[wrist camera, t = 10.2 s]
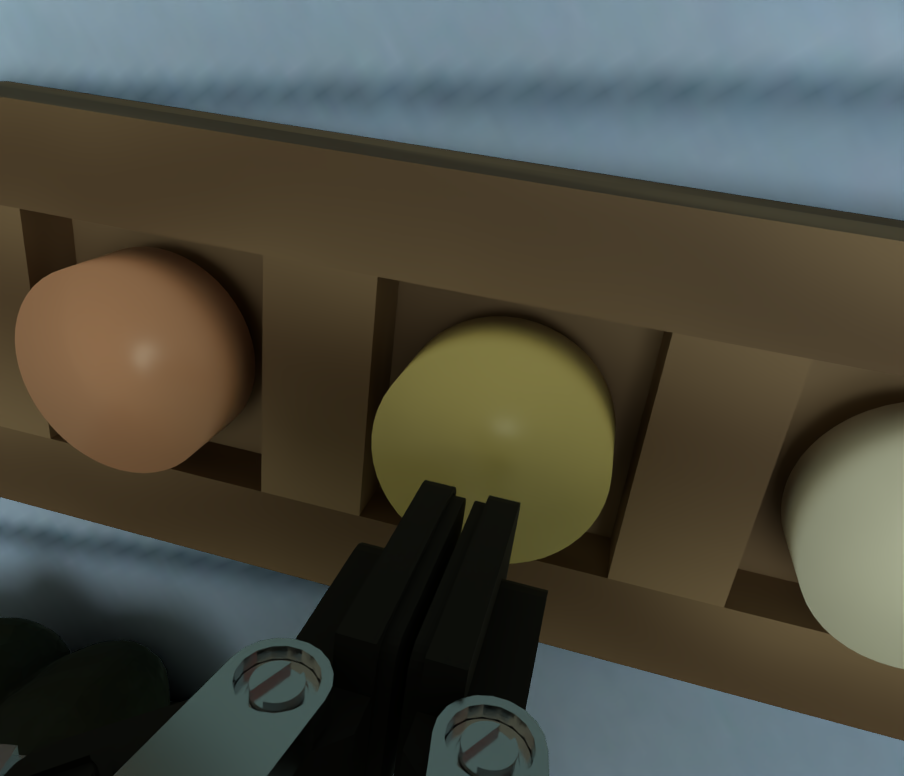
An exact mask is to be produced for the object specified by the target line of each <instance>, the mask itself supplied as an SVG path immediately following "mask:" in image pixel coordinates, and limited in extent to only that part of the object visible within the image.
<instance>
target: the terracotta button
mask: <svg viewBox="0 0 904 776" xmlns="http://www.w3.org/2000/svg"><path fill="white" fill-rule="evenodd" d="M15 349H16V357H17V361H18V366H19V369H20V373H21V376H22V379H23V381H24V384H25V386H26V388H27V390H28V393H29V394H30V396H31V398H32V400H33V402H34V403H35V405H36V407H37V408H38V410H39V411H40V412H41V414H42V415H43V417H44V418H45V419H46V420H47V422H48V423H49V424H50V425H51V426H52V428H53V429H54V430H55V431H56V432H57V433H58V434H59V435H60V436H61V437H62V438H63V439H65V440H66V441H67V442H68V443H69V444H70V445H72V446H73V447H74V448H76V449H77V450H79V451H80V452H81V453H83V454H84V455H86V456H88V457H90V458H91V459H93V460H95V461H97V462H99V463H102V464H104V465H106V466H109V467H112V468H115V469H118V470H122V471H127V472H133V473H154V472H159V471H164V470H167V469H170V468H172V467H175V466H177V465H179V464H180V463H182V462H184V461H185V460H186V459H188V458H189V457H190V456H191V455H192V454H194V453H195V452H196V451H197V450H198V449H200V448H201V447H202V446H203V445H204V444H206V443H207V442H208V441H209V440H210V439H212V438H213V437H214V436H215V435H216V434H217V433H219V432H220V431H221V430H222V429H223V428H225V427H226V426H227V425H228V424H229V423H231V422H232V421H233V420H234V419H235V418H236V417H237V416H238V415H239V414H240V412H241V411H242V410H243V408H244V407H245V405H246V403H247V401H248V399H249V397H250V394H251V391H252V388H253V383H254V379H255V354H254V348H253V343H252V339H251V336H250V333H249V330H248V327H247V325H246V322H245V320H244V318H243V316H242V314H241V312H240V310H239V309H238V307H237V305H236V304H235V302H234V301H233V299H232V298H231V297H230V295H229V294H228V292H227V291H226V290H225V289H224V288H223V287H222V286H221V285H220V283H219V282H218V281H217V280H216V279H214V278H213V277H212V276H211V275H210V274H209V273H208V272H207V271H205V270H204V269H202V268H201V267H200V266H198V265H197V264H195V263H194V262H192V261H190V260H188V259H187V258H185V257H183V256H180V255H178V254H176V253H173V252H171V251H167V250H163V249H159V248H153V247H130V248H125V249H121V250H118V251H115V252H112V253H109V254H106V255H103V256H100V257H97V258H94V259H91V260H88V261H85V262H82V263H79V264H76V265H73V266H70V267H67V268H64V269H61V270H58V271H56V272H53V273H51V274H49V275H48V276H46V277H44V278H42V279H41V280H40V281H39V282H38V283H37V284H35V285H34V286H33V288H32V289H31V290H30V291H29V293H28V294H27V295H26V297H25V299H24V301H23V303H22V304H21V307H20V310H19V313H18V316H17V321H16V327H15Z"/></svg>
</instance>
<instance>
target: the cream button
mask: <svg viewBox="0 0 904 776" xmlns="http://www.w3.org/2000/svg"><path fill="white" fill-rule="evenodd" d="M781 522H782V526H783V531H784V535H785V538H786V542H787V545H788V548H789V552H790V555H791V558H792V562H793V565H794V568H795V572H796V575H797V578H798V582H799V585H800V588H801V591H802V594H803V597H804V599H805V602H806V604H807V606H808V607H809V609H810V611H811V612H812V614H813V616H814V617H815V618H816V619H817V621H818V622H819V623H820V624H821V626H822V627H823V628H824V629H825V630H826V631H827V632H828V633H830V634H831V635H832V636H833V637H834V638H835V639H837V640H838V641H839V642H841V643H842V644H843V645H845V646H846V647H848V648H850V649H851V650H853V651H855V652H857V653H859V654H860V655H862V656H865V657H867V658H869V659H872V660H874V661H877V662H879V663H883V664H886V665H889V666H892V667H896V668H901V669H904V402H901V403H896V404H890V405H885V406H882V407H878V408H875V409H872V410H868V411H866V412H863V413H861V414H858V415H856V416H853V417H851V418H849V419H847V420H846V421H844V422H842V423H840V424H838V425H836V426H835V427H833V428H832V429H831V430H829V431H828V432H826V433H825V434H823V435H822V436H821V437H820V438H819V439H818V440H816V441H815V442H814V443H813V444H812V445H811V446H810V447H809V448H808V449H807V450H806V451H805V453H804V454H803V455H802V456H801V457H800V459H799V460H798V462H797V463H796V465H795V466H794V468H793V469H792V471H791V473H790V476H789V478H788V480H787V482H786V485H785V489H784V492H783V496H782V504H781Z"/></svg>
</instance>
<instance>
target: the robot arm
mask: <svg viewBox="0 0 904 776" xmlns="http://www.w3.org/2000/svg"><path fill="white" fill-rule="evenodd" d="M520 504H521V503H520V502H516V501H512V500H508V499H503V498H499V497H495V496H491V495H489V497H488V499H487V501H486V503H484V502H480V501H475V502H474V504H473V506H472V508H471V511H470V513H469V515H468V518H467V520H466V523H465V525H464V527H463V530H462V525H463V519H464V512H465V506H466V498H463V497H459V496H456V487H453V486H449V485H445V484H441V483H437V482H432V481H428V480H424V481H423V483H422V484H421V486H420V488H419V489H418V491H417V493H416V495H415V496H414V498H413V500H412V501H411V503H410V505H409V507H408V508H407V510H406V512H405V514H404V515H403V517H402V519H401V520H400V522H399V524H398V526H397V527H396V529H395V531H394V532H393V534H392V536H391V538H390V539H389V541H388V543H387V544H386V546H385V548H383V547H379V546H375V545H371V544H367V543H363V542H361V543H359V544H358V545H357V546H356V547H355V549H354V550H353V552H352V553H351V555H350V556H349V558H348V559H347V561H346V562H345V564H344V565H343V567H342V569H341V570H340V572H339V573H338V575H337V576H336V578H335V579H334V581H333V582H332V584H331V586H330V587H329V589H328V590H327V592H326V593H325V595H324V596H323V598H322V599H321V601H320V602H319V604H318V606H317V607H316V609H315V610H314V612H313V613H312V615H311V616H310V618H309V619H308V621H307V622H306V624H305V626H304V627H303V629H302V630H301V632H300V633H299V635H298V636H297V638H296V639H291V638H273V639H268V640H262V641H259V642H256V643H254V644H252V645H249V646H247V647H245V648H243V649H242V650H241V651H239V652H238V653H237V654H235V655H234V656H233V657H231V658H230V659H229V660H228V661H227V662H226V663H225V664H224V665H223V666H222V667H221V668H220V669H219V670H218V671H217V672H216V673H215V674H214V675H213V676H212V677H211V678H210V679H209V680H208V681H207V682H206V683H205V684H204V685H203V686H202V687H201V688H200V689H199V690H198V691H197V692H196V693H195V694H194V695H193V696H192V697H191V698H190V699H188V700H185V701H182V702H179V703H176V704H172V705H169V706H166V707H163V708H160V709H156V710H153V711H150V712H147V713H144V714H141V715H137V716H134V717H131V718H128V719H125V720H122V721H118V722H115V723H112V724H109V725H106V726H103V727H99V728H96V729H93V730H90V731H87V732H83V733H80V734H77V735H74V736H71V737H68V738H64V739H61V740H58V741H55V742H52V743H50V744H48V745H45V746H43V747H41V748H38V749H36V750H34V751H32V752H31V753H29V754H28V755H27V756H25V755H19V753H18V746H17V745H8V744H0V776H549V756H548V747H547V743H546V738H545V735H544V733H543V732H542V730H541V728H540V726H539V725H538V723H537V721H536V720H535V719H534V718H532V717H531V716H530V715H529V714H528V713H527V712H526V711H525V709H526V704H527V698H528V693H529V688H530V683H531V678H532V673H533V667H534V662H535V657H536V652H537V647H538V641H539V636H540V631H541V626H542V621H543V616H544V610H545V605H546V600H547V595H548V590H545V589H541V588H537V587H533V586H529V585H526V584H522V583H518V582H514V581H510V580H506V578H507V573H508V568H509V563H510V558H511V553H512V547H513V542H514V537H515V532H516V527H517V521H518V516H519V511H520ZM393 773H394V775H393Z"/></svg>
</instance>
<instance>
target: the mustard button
mask: <svg viewBox="0 0 904 776" xmlns="http://www.w3.org/2000/svg"><path fill="white" fill-rule="evenodd" d="M615 429H616V417H615V410H614V404H613V400H612V397H611V393H610V390H609V388H608V386H607V384H606V381H605V379H604V377H603V376H602V374H601V373H600V371H599V369H598V368H597V366H596V365H595V364H594V362H593V361H592V360H591V359H590V358H589V356H588V355H587V354H586V353H585V352H584V351H583V350H582V349H581V348H580V347H578V346H577V345H576V344H575V343H574V342H572V341H571V340H569V339H568V338H567V337H565V336H564V335H562V334H560V333H559V332H557V331H555V330H553V329H551V328H549V327H547V326H544V325H542V324H539V323H537V322H533V321H529V320H525V319H521V318H514V317H506V316H491V317H483V318H476V319H472V320H468V321H464V322H461V323H459V324H457V325H454V326H452V327H450V328H448V329H446V330H444V331H443V332H441V333H439V334H438V335H437V336H435V337H434V338H433V339H432V340H430V341H429V342H428V343H427V344H426V345H425V346H424V347H423V348H422V349H421V350H420V351H419V352H418V354H417V355H416V356H415V357H414V359H413V360H412V361H411V362H410V363H409V365H408V366H407V367H406V368H405V370H404V371H403V372H402V373H401V374H400V376H399V377H398V378H397V379H396V381H395V382H394V383H393V384H392V385H391V387H390V388H389V390H388V391H387V393H386V394H385V396H384V397H383V399H382V401H381V403H380V405H379V407H378V410H377V413H376V416H375V419H374V423H373V430H372V447H371V449H372V457H373V464H374V467H375V471H376V475H377V478H378V480H379V483H380V485H381V487H382V490H383V491H384V493H385V495H386V497H387V499H388V500H389V502H390V503H391V505H392V506H393V507H394V509H395V510H396V512H397V513H398V514H399V515H400V516H401V517H403V515H404V514H405V512H406V510H407V508H408V507H409V505H410V503H411V501H412V500H413V498H414V496H415V495H416V493H417V491H418V489H419V488H420V486H421V484H422V483H423V481H424V480H428V481H432V482H437V483H441V484H445V485H449V486H453V487H456V496H459V497H463V498H466V506H465V512H464V519H463V525H462V530H463V527H464V525H465V523H466V520H467V518H468V515H469V513H470V511H471V508H472V506H473V504H474V502H475V501H480V502H484V503H486V501H487V499H488V497H489V495H491V496H495V497H499V498H503V499H508V500H512V501H516V502H520V503H521V504H520V511H519V516H518V521H517V527H516V532H515V537H514V542H513V547H512V553H511V558H510V563H509V564H511V563H522V562H529V561H533V560H537V559H541V558H544V557H547V556H549V555H552V554H554V553H557V552H559V551H560V550H562V549H564V548H566V547H568V546H569V545H571V544H572V543H573V542H575V541H576V540H577V539H579V538H580V537H581V536H582V535H583V534H584V533H585V532H586V531H587V530H588V529H589V528H590V527H591V525H592V524H593V523H594V521H595V520H596V519H597V517H598V516H599V514H600V512H601V510H602V508H603V506H604V504H605V502H606V499H607V496H608V493H609V489H610V483H611V477H612V467H613V455H614V443H615Z"/></svg>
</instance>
